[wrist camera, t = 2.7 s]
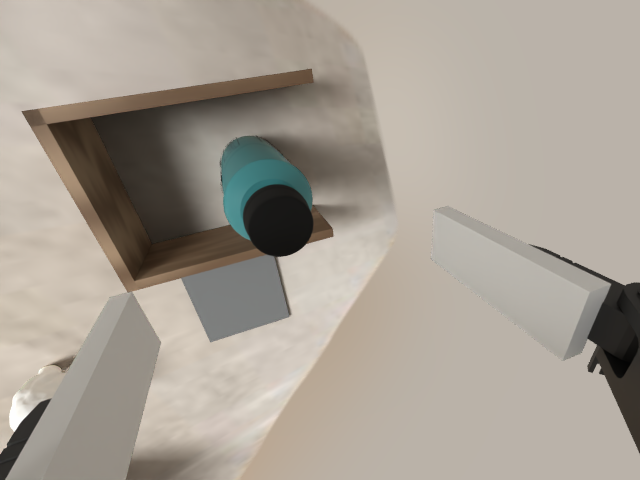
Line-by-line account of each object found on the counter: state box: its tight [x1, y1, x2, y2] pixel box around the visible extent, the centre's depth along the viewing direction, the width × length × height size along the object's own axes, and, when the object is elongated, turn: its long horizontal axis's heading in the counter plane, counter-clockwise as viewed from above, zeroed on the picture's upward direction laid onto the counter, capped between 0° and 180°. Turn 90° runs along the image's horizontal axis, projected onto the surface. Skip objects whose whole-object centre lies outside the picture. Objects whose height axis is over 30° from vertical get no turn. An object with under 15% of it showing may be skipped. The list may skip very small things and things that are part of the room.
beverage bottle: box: [220, 135, 314, 257], centre depth 25 cm, size 6×7×20 cm
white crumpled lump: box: [9, 365, 67, 432], centre depth 35 cm, size 6×8×12 cm
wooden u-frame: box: [22, 69, 333, 292], centre depth 29 cm, size 16×21×8 cm
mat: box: [181, 255, 289, 342], centre depth 41 cm, size 12×12×1 cm
